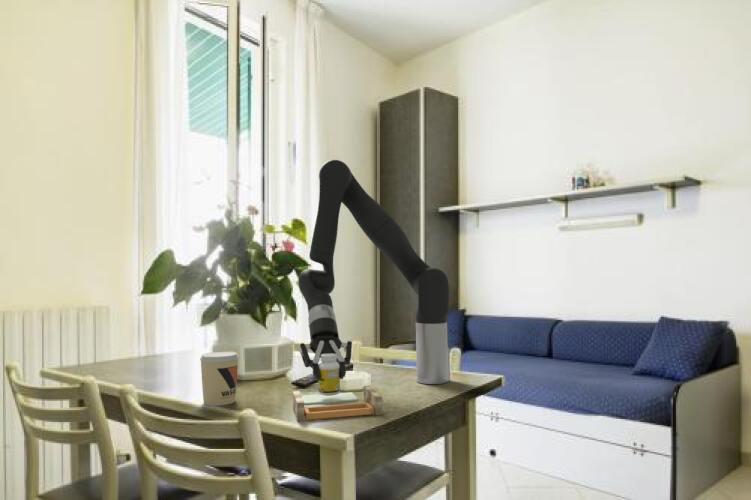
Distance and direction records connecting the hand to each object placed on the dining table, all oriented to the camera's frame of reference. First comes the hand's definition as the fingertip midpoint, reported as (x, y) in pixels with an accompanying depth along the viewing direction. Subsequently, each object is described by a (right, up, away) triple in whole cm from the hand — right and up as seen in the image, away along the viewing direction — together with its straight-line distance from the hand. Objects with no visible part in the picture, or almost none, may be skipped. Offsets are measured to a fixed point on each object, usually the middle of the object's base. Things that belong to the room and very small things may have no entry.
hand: (330, 377), depth 129 cm
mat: (-1, -6, +3) cm, 7 cm away
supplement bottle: (0, -4, +2) cm, 5 cm away
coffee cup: (-28, -7, +2) cm, 29 cm away
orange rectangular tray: (+3, -5, -12) cm, 14 cm away
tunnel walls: (+2, -6, -9) cm, 11 cm away
